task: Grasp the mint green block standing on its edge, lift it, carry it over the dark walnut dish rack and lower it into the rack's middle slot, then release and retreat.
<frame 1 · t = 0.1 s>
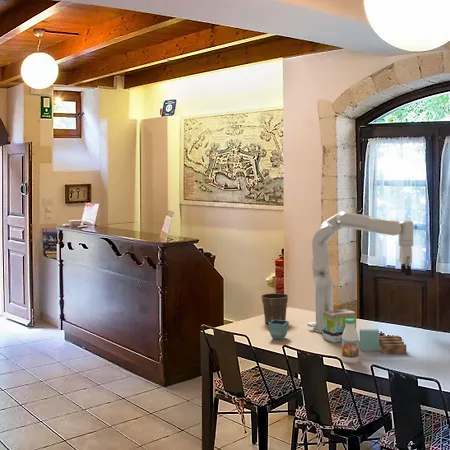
hand: (406, 274, 338), 31 cm above the table, fingers open, 9 cm apart
rack: (391, 348, 304), on the table
tea box: (339, 339, 325), on the table
mint green block: (369, 349, 304), on the table
flower pot: (278, 338, 328), on the table
milk bottle: (350, 361, 287), on the table
plant pot: (275, 322, 363), on the table
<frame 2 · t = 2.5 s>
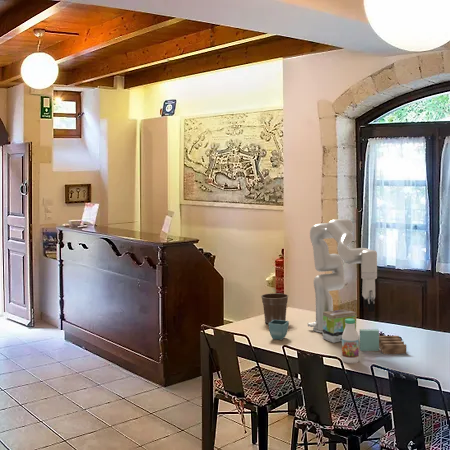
hand: (369, 309, 302), 20 cm above the table, fingers open, 9 cm apart
nothing on the table moved.
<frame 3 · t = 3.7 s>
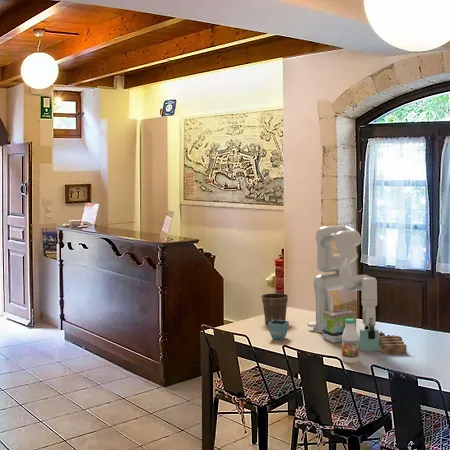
hand: (369, 336, 303), 7 cm above the table, fingers open, 9 cm apart
nothing on the table moved.
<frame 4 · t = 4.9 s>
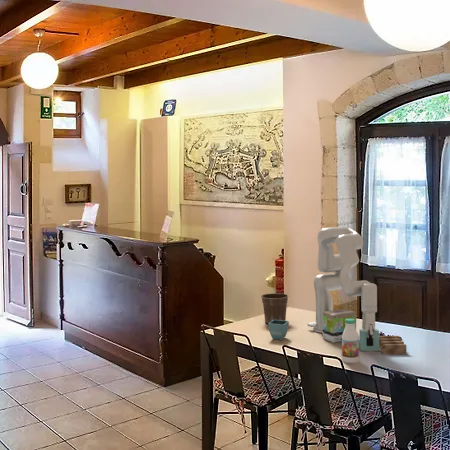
hand: (369, 344, 304), 3 cm above the table, fingers closed on mint green block, 3 cm apart
mint green block: (369, 349, 304), on the table, touching gripper
everything else where it was.
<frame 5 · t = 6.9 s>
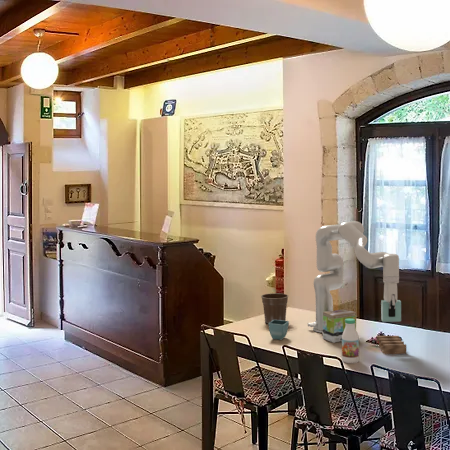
hand: (391, 315, 303), 17 cm above the table, fingers closed on mint green block, 3 cm apart
mint green block: (391, 320, 303), point 14 cm above the table, touching gripper
everything else where it was.
when the fingers open (5 cm above the table, at t = 8.8 s): mint green block stays where it is, resting on rack.
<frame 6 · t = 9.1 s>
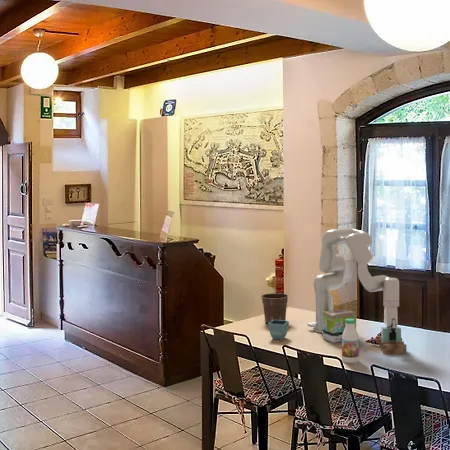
hand: (391, 338, 304), 5 cm above the table, fingers open, 5 cm apart
mint green block: (391, 347, 304), point 1 cm above the table, touching rack
everything else where it was.
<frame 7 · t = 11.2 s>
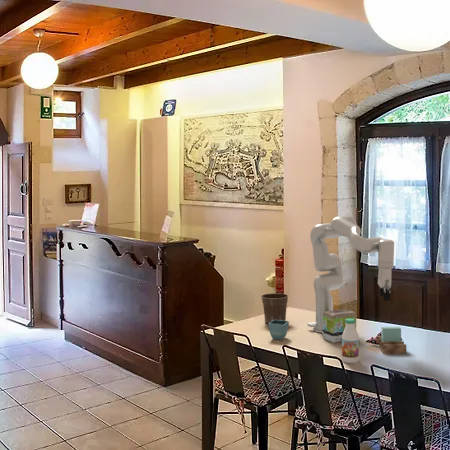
hand: (384, 298, 306), 25 cm above the table, fingers open, 9 cm apart
nothing on the table moved.
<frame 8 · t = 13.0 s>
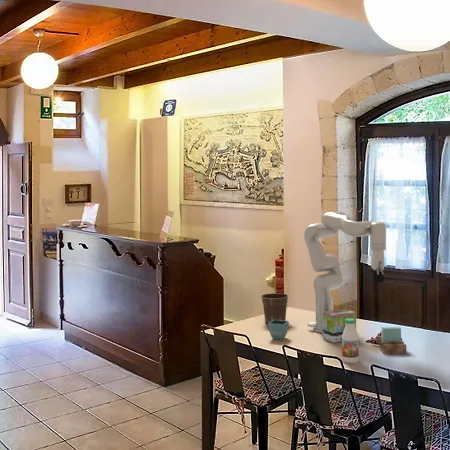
hand: (378, 280, 309), 33 cm above the table, fingers open, 9 cm apart
nothing on the table moved.
at the end: mint green block inside the target area on the rack (0.1 cm from its centre), point 0.8 cm above the rack's base; mint green block tilted 0°; the gripper is holding nothing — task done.
